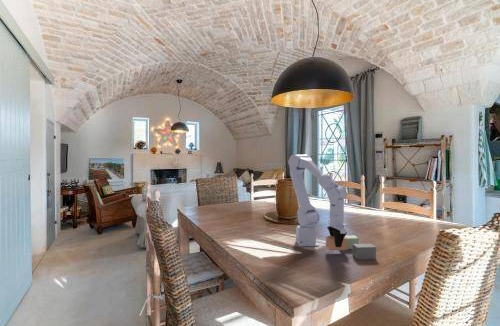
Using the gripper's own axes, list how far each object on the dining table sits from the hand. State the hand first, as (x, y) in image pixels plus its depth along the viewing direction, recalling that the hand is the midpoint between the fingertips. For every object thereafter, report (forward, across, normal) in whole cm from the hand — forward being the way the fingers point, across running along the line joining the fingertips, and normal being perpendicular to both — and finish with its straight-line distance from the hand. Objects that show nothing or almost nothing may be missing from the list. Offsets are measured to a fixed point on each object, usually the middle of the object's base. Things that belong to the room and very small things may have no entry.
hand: (336, 244), depth 108 cm
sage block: (+4, +6, -8) cm, 11 cm away
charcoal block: (+4, -5, -10) cm, 12 cm away
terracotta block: (+2, 0, 0) cm, 2 cm away
